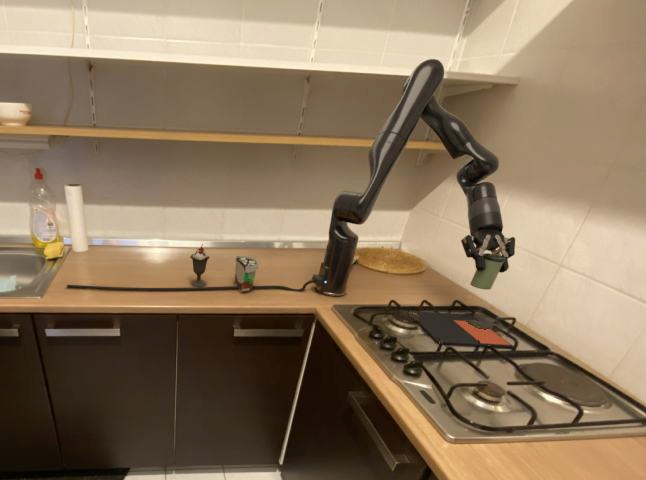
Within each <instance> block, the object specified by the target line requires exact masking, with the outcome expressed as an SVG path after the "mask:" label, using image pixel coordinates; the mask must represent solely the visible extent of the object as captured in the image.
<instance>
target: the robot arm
mask: <svg viewBox="0 0 646 480" xmlns="http://www.w3.org/2000/svg"><path fill="white" fill-rule="evenodd" d="M444 79H445V67H444V64H443V63H442V62H441V61H440V60H439V59H436V58H430V59H426V60H424V61H422V62H421V63H419V64H418V65H417V66H416V67H415V68H413V70H412V71H411V73H410V75H409V77H408V78H407V80H406V81H405V83H404V85H403V87H402V89H401V94H402V95H401V98H400V101H399V102H398V104H397V105H396V107H394V109H393V110H392V112H391V114H389V117H388V118H387V120H386V121H385V122H384V124H383V126H382V127H381V128H380V130H379V132H378V133H377V135H376V137H375V138H374V140H373V143H372V144H371V146H370V148H369V150H368V155H367V156H368V157H367V158H368V168H369V181H368V184H367V186H366V188H365V190H364V191H363V192H359V191H354V190H353V191H352V190H342V191H341V192H339V193H338V194H337V195H336V198H335V199H334V202H333V205H332V209H331V216H330V221H329V227H328V239H327V243H326V248H325V253H324V256H323V261H321V263H320V267H319V272H318V274H315V273H314V274H312V279H310V280H308V281H306V282H305V283H304V284H303V285H302V287H301V288H292V287H289V286H288V287H287V286H284V285H253V287H252V290H254V289H255V290H257V289H258V290H259V289H260V290H261V289H263V290H265V289H280V290H286V291H290V292H298V293H299V292H303V291H305V290H306V288H307V286H308V285H310V284H314V285H315V288H316V290H317V292H318V293H319V294H320V295H326V296H328V297H329V296H330V297H342V296H344V295H345V294H346V290H347V285H348V281H349V278H350V273H351V270H352V267H353V265H352V263H353V259H354V255H356V250H357V248H358V243H359V239H360V238H359V235H358V234H357V233H355V232H354V231H353V230H352V229H351V228H350V227H349V225H348V224H353V225H359V226H360V225H363V224H364V223H365V222H367V221H368V220H369V218H370V216H371V215H372V212H373V211H374V209H375V206H376V204H377V202H378V200H379V197H380V196H381V193H382V191H383V189H384V186H385V185H386V182H387V181H388V178H389V177H390V175H391V174H392V172H393V170H394V168H395V166H396V165H397V164H398V163H397V162H398V161H399V160H400V158H401V156H402V155H403V152H404V151H405V149H406V147H407V145H408V143H409V141H410V139H411V137H412V136H413V133H414V131H415V129H416V126H417V124H418V123H419V120H420V119H421V120H422V121H423V122H424V123H425V124H426V125H427V126H428V127H429V129H430V130H432V132H433V133H434V135H436V137H437V138H438V140H439V141H440V143H441V144H442V146H443V148H444V149H445V151H446V152H447V153H448V155H449V157H450V158H451V159H452V160H454V161H455V160H459V159H461V158H464V157H465V156H470V157H471V158H472V159H471V160H469V161H468V162H467V163H465V164H463V165H462V166H461V167H460V168H459V169H458V170H457V172H456V182H457V183H458V185H459V187H460V188H461V190H462V193H463V194H464V196H465V198H466V205H467V220H468V226H469V234H467V235H466V236H464V237H463V238H462V239H461V240H460V241H461V244H462V248H463V250H464V254H465V256H466V257H467V258H471V259H473V260H474V264H475V270H478V271H480V272H481V271H483V270H485V269H486V265H485V258H484V257H482V256H483V254H485V251H487V252H490V254H496V255H500V256H503V257H505V258H506V259H505V261H504V263H503V265H502V267H501V269H500V271H499V273H502V274H503V273H505V272H507V271H508V270H509V267H510V265H509V259H510V258H511V257H514V256H515V252H516V251H515V250H516V237H514V236H511V237H510V238H509V237H505V234H503V229H504V223H503V219H502V211H501V207H500V203H499V201H498V194H497V188H496V186H495V184H494V183H493V182H491V181H484V180H486V179H487V178H489V177H491V176H493V175H494V174H495V173H496V172H497V171H498V170H499V168H500V159H499V157H498V156H497V155H496V154H495V153H494V152H493V151H491V150H490V149H489V148H487V147H486V146H484V145H483V144H482V143H481V142H480V141H479V140H477V139H476V138H475V136H474V135H473V133H472V132H471V130H470V128H469V127H468V125H467V124H466V122H465V121H464V120H462V119H461V118H460V117H458V116H456V115H455V114H452V113H450V112H449V111H447V109H445V108H444V107H442V105H441V104H440V103H439V101H438V100H437V97H436V94H435V93H436V92H437V91H438V89H439V88H440V86H441V85H442V83H443V81H444ZM66 288H68V289H85V290H107V291H112V290H113V291H135V292H136V291H137V292H138V291H139V292H140V291H141V292H142V291H145V292H146V291H147V292H148V291H149V292H155V291H156V292H168V291H171V292H172V291H175V292H176V291H177V292H178V291H212V290H214V291H217V290H239V289H240V287H239V286H236V285H233V286H232V285H231V286H202V287H197V286H194V287H193V286H190V287H131V286H130V287H129V286H128V287H127V286H126V287H125V286H102V285H101V286H99V285H83V284H82V285H80V284H66Z"/></svg>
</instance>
